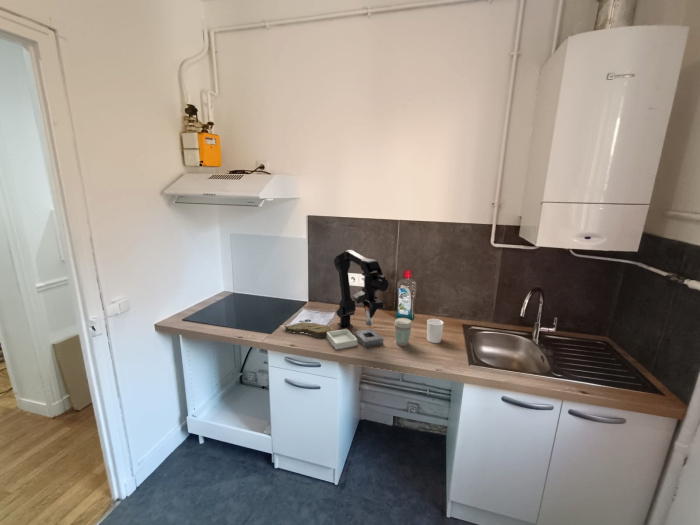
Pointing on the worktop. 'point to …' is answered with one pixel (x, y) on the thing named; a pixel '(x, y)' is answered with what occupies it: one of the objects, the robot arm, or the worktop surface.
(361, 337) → the block
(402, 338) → the coffee cup
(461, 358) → the worktop surface
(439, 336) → the white cup
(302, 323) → the stone slab
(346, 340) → the parts tray
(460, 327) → the worktop surface
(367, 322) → the grey copper-tipped cylinder
